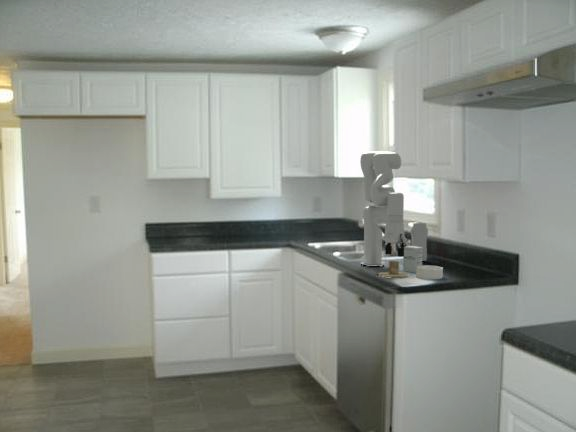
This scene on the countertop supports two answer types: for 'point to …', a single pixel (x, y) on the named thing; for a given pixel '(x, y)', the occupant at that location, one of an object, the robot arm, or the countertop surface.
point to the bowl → (429, 272)
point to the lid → (393, 271)
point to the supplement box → (412, 258)
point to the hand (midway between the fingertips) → (394, 255)
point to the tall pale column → (420, 237)
